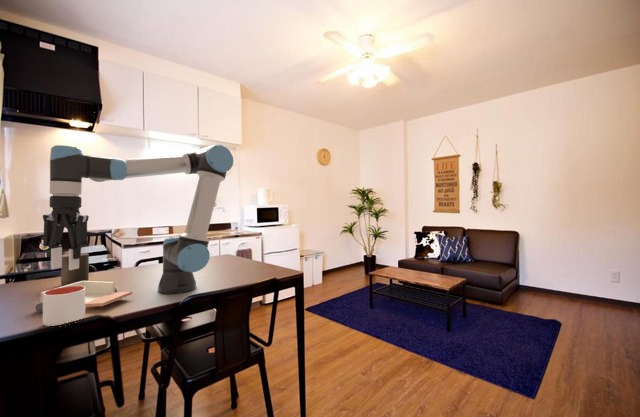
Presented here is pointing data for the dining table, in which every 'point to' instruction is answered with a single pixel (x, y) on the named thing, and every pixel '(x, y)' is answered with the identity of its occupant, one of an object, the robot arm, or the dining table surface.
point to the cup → (63, 305)
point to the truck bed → (88, 291)
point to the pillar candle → (75, 270)
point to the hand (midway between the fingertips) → (65, 268)
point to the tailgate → (107, 299)
